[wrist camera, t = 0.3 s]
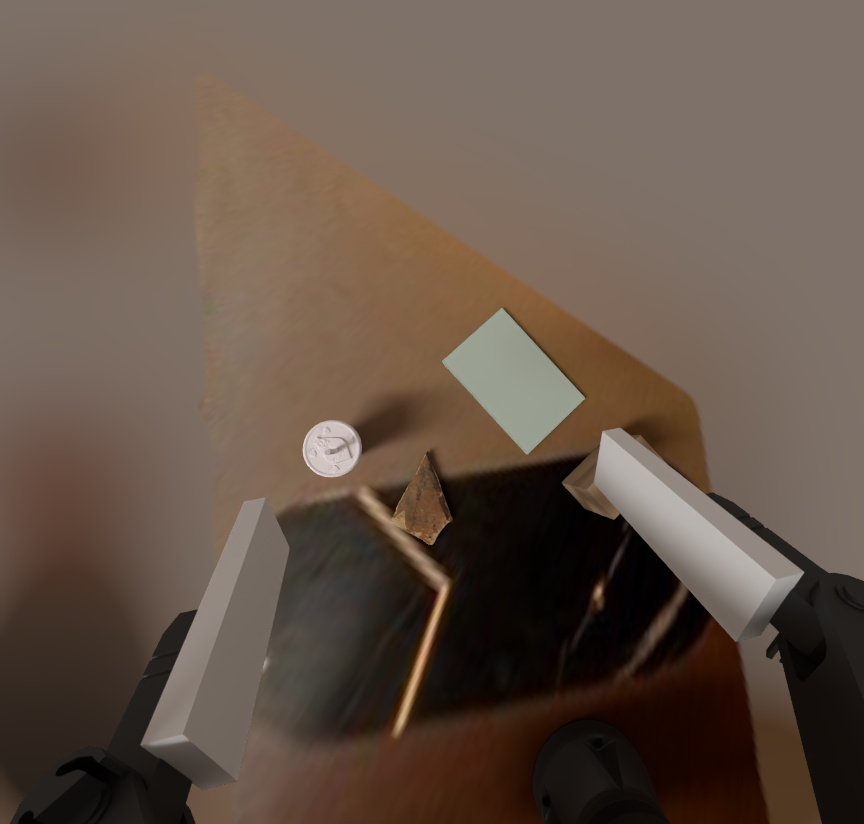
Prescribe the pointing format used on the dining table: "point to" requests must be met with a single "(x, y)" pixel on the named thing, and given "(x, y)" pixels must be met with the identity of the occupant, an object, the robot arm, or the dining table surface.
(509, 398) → the felt mat
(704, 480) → the dining table surface
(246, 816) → the dining table surface
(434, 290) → the dining table surface
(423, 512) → the shard
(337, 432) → the smoothie
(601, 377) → the dining table surface
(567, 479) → the beige block
